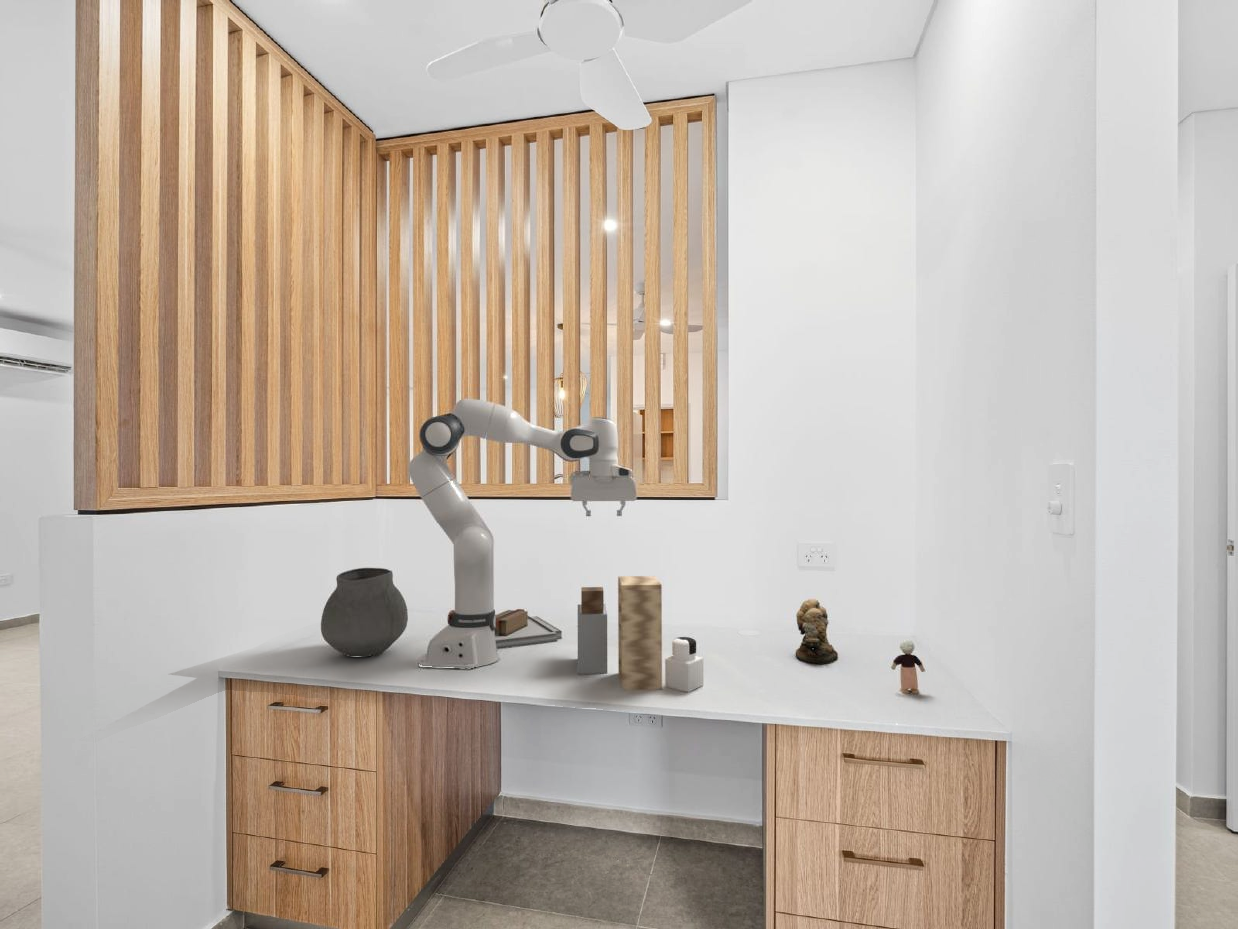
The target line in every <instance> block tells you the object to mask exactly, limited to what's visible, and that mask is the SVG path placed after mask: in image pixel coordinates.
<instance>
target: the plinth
mask: <svg viewBox="0 0 1238 929" xmlns="http://www.w3.org/2000/svg"><path fill="white" fill-rule="evenodd" d="M577 674H578V675H583V674H584V675H585V674H590V675H591V674H608V612H607V607H606V603H604V613H581V604H577Z"/></svg>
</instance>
